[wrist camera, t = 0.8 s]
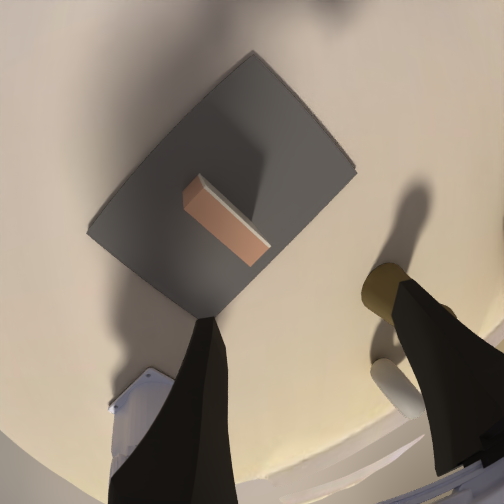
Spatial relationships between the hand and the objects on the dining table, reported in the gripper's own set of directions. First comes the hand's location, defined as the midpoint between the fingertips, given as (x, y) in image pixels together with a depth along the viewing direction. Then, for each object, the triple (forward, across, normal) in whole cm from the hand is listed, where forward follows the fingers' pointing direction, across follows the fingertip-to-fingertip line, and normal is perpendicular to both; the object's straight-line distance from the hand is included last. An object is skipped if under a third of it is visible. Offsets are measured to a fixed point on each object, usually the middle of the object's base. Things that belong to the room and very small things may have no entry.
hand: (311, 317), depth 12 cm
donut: (+12, -12, +29) cm, 34 cm away
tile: (+15, +4, +3) cm, 16 cm away
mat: (+16, +4, +3) cm, 17 cm away
